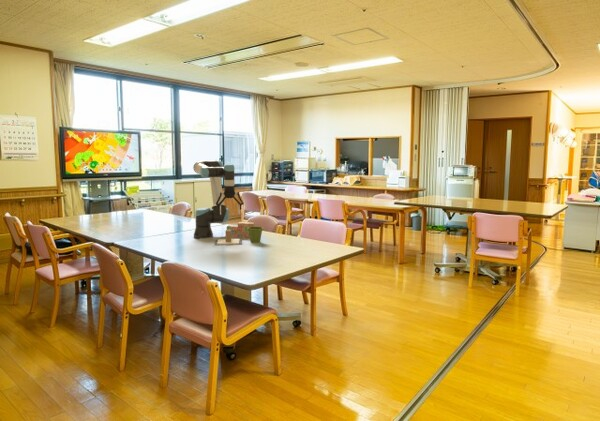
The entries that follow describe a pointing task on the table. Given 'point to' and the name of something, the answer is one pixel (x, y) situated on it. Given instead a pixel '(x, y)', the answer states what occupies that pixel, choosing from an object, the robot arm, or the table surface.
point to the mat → (232, 244)
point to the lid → (228, 239)
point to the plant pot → (255, 234)
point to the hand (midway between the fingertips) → (229, 214)
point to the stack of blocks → (240, 229)
